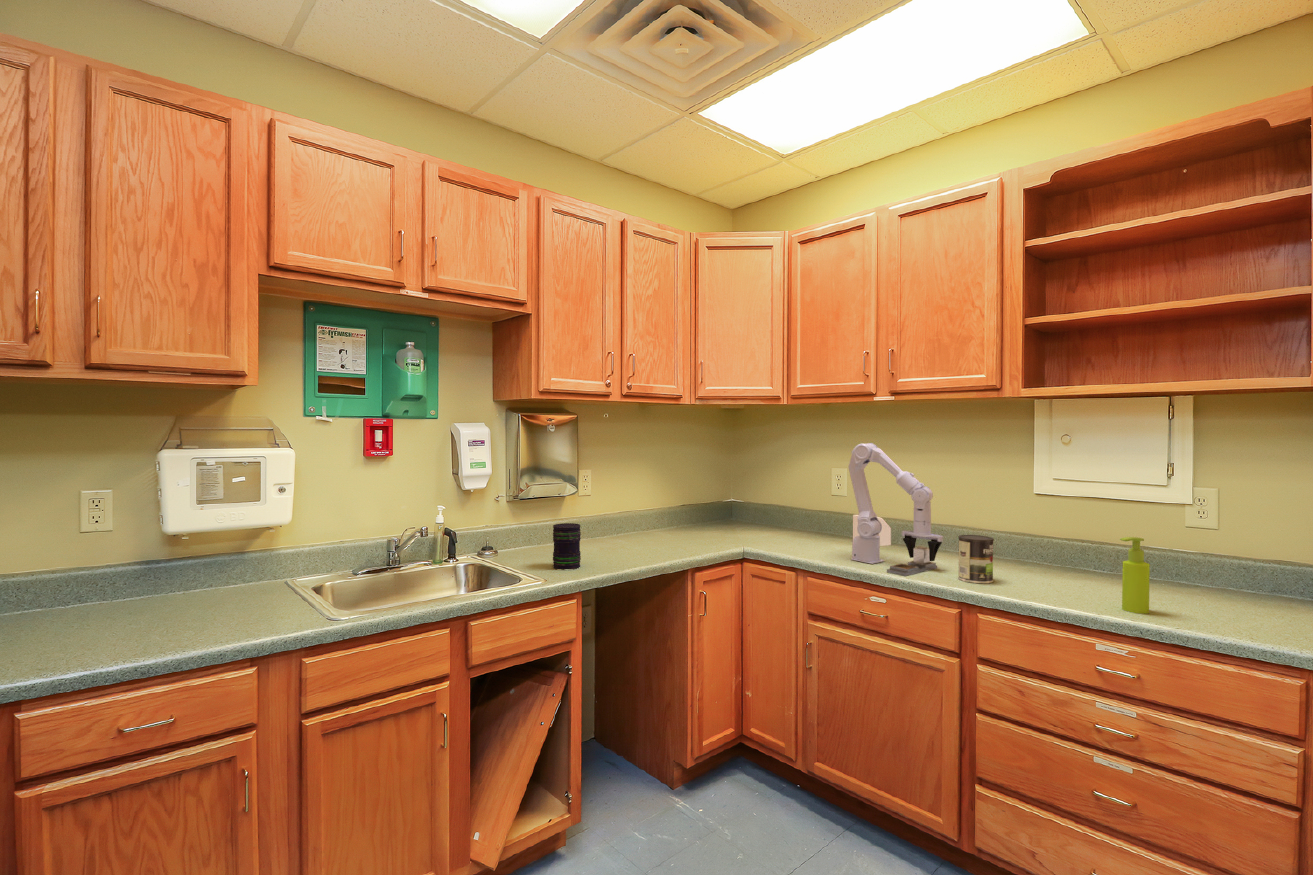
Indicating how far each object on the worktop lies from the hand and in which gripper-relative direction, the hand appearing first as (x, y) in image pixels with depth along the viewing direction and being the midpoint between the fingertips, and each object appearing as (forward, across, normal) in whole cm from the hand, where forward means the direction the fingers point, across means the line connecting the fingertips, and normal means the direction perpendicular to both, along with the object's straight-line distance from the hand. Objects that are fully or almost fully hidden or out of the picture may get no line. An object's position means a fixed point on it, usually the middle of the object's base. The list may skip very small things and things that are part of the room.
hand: (922, 559), depth 223 cm
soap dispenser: (+4, -63, +2) cm, 63 cm away
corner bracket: (+3, +39, -27) cm, 48 cm away
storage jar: (+3, +76, +101) cm, 126 cm away
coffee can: (+3, -20, +2) cm, 20 cm away
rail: (+3, 0, +6) cm, 7 cm away
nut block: (+2, 0, 0) cm, 2 cm away
